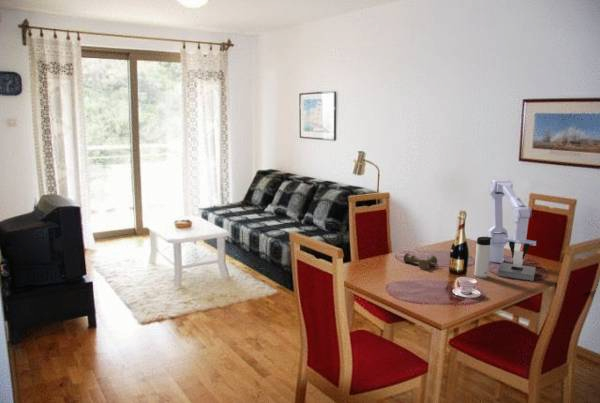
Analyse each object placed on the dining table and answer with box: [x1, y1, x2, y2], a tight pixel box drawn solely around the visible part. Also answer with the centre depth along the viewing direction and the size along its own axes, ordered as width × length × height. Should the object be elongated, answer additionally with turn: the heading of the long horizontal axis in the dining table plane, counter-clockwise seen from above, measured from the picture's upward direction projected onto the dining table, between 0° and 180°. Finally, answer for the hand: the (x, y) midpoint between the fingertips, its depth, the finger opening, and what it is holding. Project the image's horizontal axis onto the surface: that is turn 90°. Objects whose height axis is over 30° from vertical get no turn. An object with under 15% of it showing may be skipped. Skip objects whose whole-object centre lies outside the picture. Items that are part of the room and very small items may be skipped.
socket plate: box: [497, 262, 536, 282], centre depth 244 cm, size 16×14×3 cm
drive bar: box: [512, 250, 524, 268], centre depth 243 cm, size 4×4×7 cm
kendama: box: [403, 253, 439, 271], centre depth 256 cm, size 6×10×20 cm
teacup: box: [452, 276, 481, 299], centre depth 219 cm, size 12×12×6 cm
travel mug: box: [473, 236, 492, 279], centre depth 239 cm, size 6×7×20 cm
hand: (518, 257), depth 243 cm, fingers closed on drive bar, 4 cm apart
